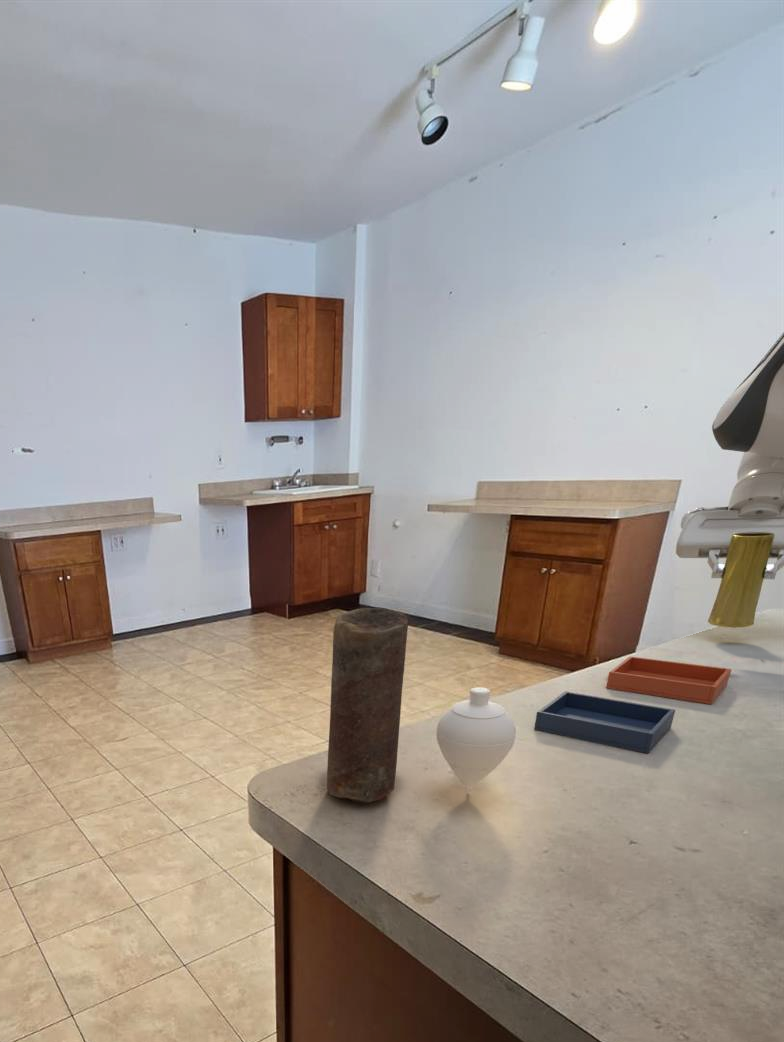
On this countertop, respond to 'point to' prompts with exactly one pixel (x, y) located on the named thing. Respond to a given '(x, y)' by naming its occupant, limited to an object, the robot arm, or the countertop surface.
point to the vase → (742, 580)
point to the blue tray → (605, 721)
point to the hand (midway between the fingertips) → (742, 576)
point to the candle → (366, 703)
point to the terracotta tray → (669, 679)
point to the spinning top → (475, 737)
